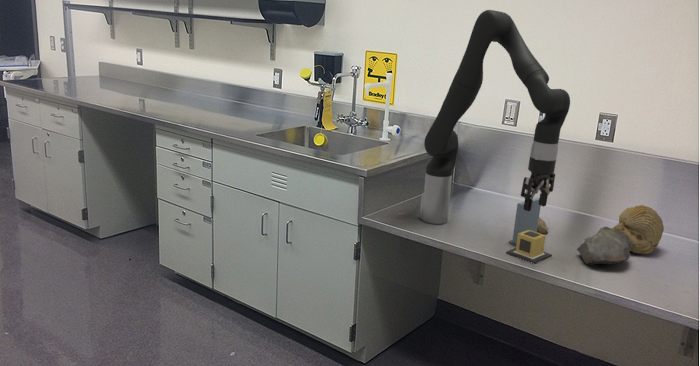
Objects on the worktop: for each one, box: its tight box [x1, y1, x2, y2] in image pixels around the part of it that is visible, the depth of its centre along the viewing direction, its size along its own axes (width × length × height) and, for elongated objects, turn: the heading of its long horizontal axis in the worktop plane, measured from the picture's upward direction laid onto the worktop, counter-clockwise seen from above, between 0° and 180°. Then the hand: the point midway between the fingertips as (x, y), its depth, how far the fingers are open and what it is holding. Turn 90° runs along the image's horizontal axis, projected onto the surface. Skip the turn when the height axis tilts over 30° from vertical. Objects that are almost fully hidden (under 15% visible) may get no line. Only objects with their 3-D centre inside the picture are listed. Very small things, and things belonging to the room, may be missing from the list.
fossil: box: [611, 204, 665, 255], centre depth 190 cm, size 15×17×15 cm
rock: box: [537, 217, 549, 235], centre depth 205 cm, size 8×11×4 cm
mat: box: [505, 247, 553, 264], centre depth 181 cm, size 10×10×1 cm
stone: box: [576, 226, 632, 266], centre depth 178 cm, size 18×10×15 cm
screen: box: [508, 196, 542, 246], centre depth 191 cm, size 4×12×14 cm, turn 132°
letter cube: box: [515, 230, 546, 258], centre depth 180 cm, size 6×6×6 cm
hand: (534, 208), depth 177 cm, fingers open, 8 cm apart
